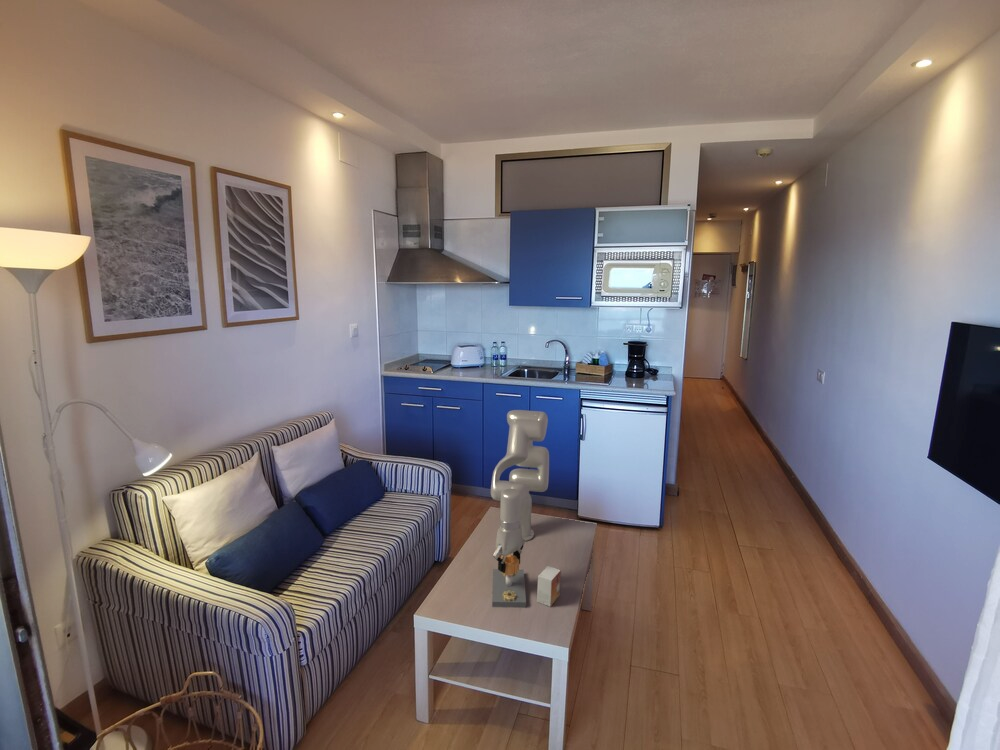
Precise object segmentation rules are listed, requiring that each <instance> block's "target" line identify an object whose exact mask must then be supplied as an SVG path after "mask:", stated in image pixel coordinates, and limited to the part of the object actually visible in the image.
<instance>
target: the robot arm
mask: <svg viewBox="0 0 1000 750" xmlns="http://www.w3.org/2000/svg"><path fill="white" fill-rule="evenodd" d="M548 418H549V417H548V415H547V413H546V412H544V411H539V410H526V409H525V410H523V409H513V410H510V411H508V412H507V414H506V422H507V424H508V426H509V428H508V438H507V447H506V454H505V456H503V458H501V459H500V460H499V462H498V463H497V464H496V465H495V468H494V470H493V471H492V476H491V485H490V496H491V498H492V499H493V500H495V501H499V502H500V508H499V509H500V510H499V512H500V514H499V517H500V518H499V527H498V529H497V533H496V539H495V551H494V553H493V554H492V557H493V558H494V559H495V560H496V561H497V569H498V570H499V571H501V572H503V573H505V565H506V563H505V562H504V561H505V559H506V556H507V555H509V554H510V555H513V556H517V558H518V559H519V565H521V554H522V550H523V549H524V545H525V544H526V542H527V541H530V540H532V539H533V538H534V536H535V532H534V530H533V529H532V504H533V503H532V502H533V501H532V496H531V494H530V492H539V493H543V492H546V491H547V490H548V487H549V482H550V481H549V477H550V476H549V475H550V474H549V473H550V452H549V450H548V448H547V447H545V446H540V445H534V444H533V443H534V442H543V441H544V440H545V437H546V436H547V435H546V434H547V429H548V423H549V419H548ZM513 466H516V467H522V468H514V469H512V470H511V471H510V472H509V475H508V476H509V477H508V480H500V477H501V475H502V473H503V472H504V471H505V470H506V469H509V468H511V467H513ZM531 468H532V469H531ZM501 556H503V558H502V559H501Z"/></svg>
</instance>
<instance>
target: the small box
mask: <svg viewBox="0 0 1000 750" xmlns="http://www.w3.org/2000/svg"><path fill="white" fill-rule="evenodd" d="M560 588H561V570H560V569H558V568H555V567H554V566H553V567H552V566H549V565H547V566H546V567H545V568H544V569H543V570H542V571H541V572H540V573H539V574H538V576H537V591H536V592H537V593H536V603H540V604H542V605H545V606H547V607H550V608H551V607H552V606H553V604H554V603H555V602H556V601H557V599H558V598H559V597H560V592H561V590H560Z"/></svg>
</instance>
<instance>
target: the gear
mask: <svg viewBox="0 0 1000 750" xmlns="http://www.w3.org/2000/svg"><path fill="white" fill-rule="evenodd" d="M502 558H503V555H501V559H502ZM504 562H505V563H506V565H505V573H503V572H501V573H502V574H508V575H511V574H516V573H517V572H518V570H520V564H519V559H518V558H517V556H513V554H509V555H507V556H506V559H505V561H504Z"/></svg>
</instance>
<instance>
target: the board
mask: <svg viewBox="0 0 1000 750" xmlns="http://www.w3.org/2000/svg"><path fill="white" fill-rule="evenodd" d="M525 583H526V582H525V573H524V569H519V570H518V572H517V573H516V574H511V575H508V574H502V573H501V571H499V570H498V568H493V569H492V599H491V600H492V601H491V602H492V603H491V604H492V605H491V606H492V608H526V607H527V598H526V595H527V594H526V585H525Z"/></svg>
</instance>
